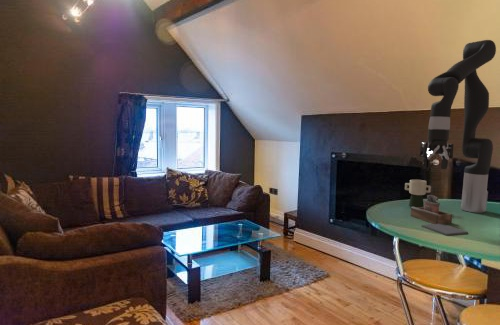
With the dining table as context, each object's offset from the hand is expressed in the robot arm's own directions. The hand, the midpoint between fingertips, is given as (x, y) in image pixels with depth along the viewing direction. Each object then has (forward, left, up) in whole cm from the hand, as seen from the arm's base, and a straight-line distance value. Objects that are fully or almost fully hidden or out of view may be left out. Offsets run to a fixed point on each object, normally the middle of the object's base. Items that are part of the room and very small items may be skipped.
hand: (435, 168), depth 140 cm
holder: (+1, 0, -21) cm, 21 cm away
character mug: (-9, -18, -21) cm, 29 cm away
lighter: (+1, 0, -21) cm, 21 cm away
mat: (+8, +13, -21) cm, 26 cm away
